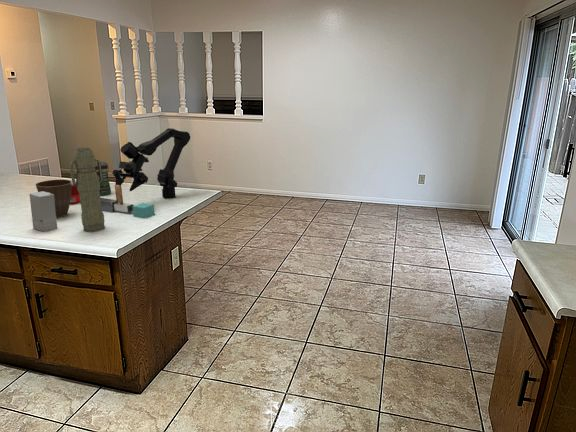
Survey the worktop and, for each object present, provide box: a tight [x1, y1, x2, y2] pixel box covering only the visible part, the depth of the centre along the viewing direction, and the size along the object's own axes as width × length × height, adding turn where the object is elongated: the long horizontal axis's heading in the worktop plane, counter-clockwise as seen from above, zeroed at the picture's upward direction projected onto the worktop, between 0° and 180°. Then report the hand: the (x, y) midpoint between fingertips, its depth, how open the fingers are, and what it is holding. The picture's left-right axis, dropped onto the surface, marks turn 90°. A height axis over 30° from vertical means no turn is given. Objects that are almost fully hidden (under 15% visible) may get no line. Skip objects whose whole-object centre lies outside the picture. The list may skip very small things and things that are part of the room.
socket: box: [132, 202, 156, 219], centre depth 203 cm, size 7×7×5 cm
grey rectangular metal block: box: [100, 197, 117, 213], centre depth 212 cm, size 14×5×5 cm, turn 67°
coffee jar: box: [95, 161, 112, 197], centre depth 239 cm, size 10×8×19 cm
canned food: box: [69, 180, 81, 206], centre depth 223 cm, size 8×8×11 cm
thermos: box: [69, 147, 106, 233], centre depth 180 cm, size 9×12×35 cm
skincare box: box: [29, 191, 58, 232], centre depth 182 cm, size 8×7×16 cm
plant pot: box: [35, 179, 72, 218], centre depth 201 cm, size 15×15×16 cm
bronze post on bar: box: [112, 184, 135, 214], centre depth 208 cm, size 22×3×13 cm, turn 67°
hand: (122, 190), depth 209 cm, fingers open, 9 cm apart
